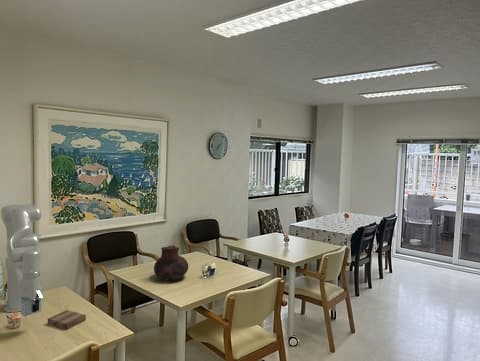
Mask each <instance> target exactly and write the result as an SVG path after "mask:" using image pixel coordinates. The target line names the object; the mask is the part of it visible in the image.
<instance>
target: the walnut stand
mask: <svg viewBox="0 0 480 361" xmlns="http://www.w3.org/2000/svg"><path fill="white" fill-rule="evenodd" d="M86 316H87V315H86V314H84V313H80V312H76V311H71V310H68V309H66V310H64V311H61V312H60V313H58V314H55V315H53V316H51V317H49V318H47V325H49V326H53V327H56V328H60V329H64V330H70V329H72V328H73V327H75V326H77V325H80V324H81V323H83V322H85V321H86V320H87V319H86Z"/></svg>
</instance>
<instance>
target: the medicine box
mask: <svg viewBox="0 0 480 361" xmlns="http://www.w3.org/2000/svg"><path fill="white" fill-rule="evenodd" d="M36 300H37V299H35V301H36ZM32 305H33V300H31V299H27V298H24V297H21V311H20V313H21V315H22V316H24V317H28V316H30V315H34V314H36V313H40V312H42V300H41V301H40V303H39V310H38V311H36V312H32Z"/></svg>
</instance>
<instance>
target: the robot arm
mask: <svg viewBox="0 0 480 361" xmlns="http://www.w3.org/2000/svg"><path fill="white" fill-rule="evenodd" d="M0 216H1V221H2V222H3V224H4V226H5V230H6V254H7V257H5V260H4V264H5V265H4V266H5V271H6V281H7V282H6V283H7V285H6V291H7V292H6V293H7V299H6V300H4V303H6V305H5V307H4V308H3V309H4V312H7V313H18V312H21V297H24V298H27V299H31V300H33V305H32V312H36V311H38V310H39V303H40V301H41V302H42V300H43V299H44V297H43V295H42V292H43V291H42V280H41V248H40V239H39V236H38V234H37V233H33V227H32V223H31V222H38V221H40V220H41V219H42V211H41V208H40V207H39V206H38V205H36V204H35V203H28V204H27V203H25V204H23V203H22V204H9V205H5V206H3V207H1V209H0ZM35 299H37V300H36V301H35Z"/></svg>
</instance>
